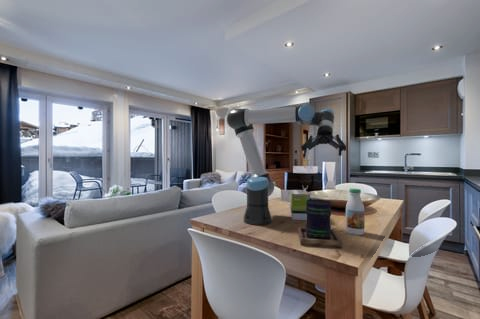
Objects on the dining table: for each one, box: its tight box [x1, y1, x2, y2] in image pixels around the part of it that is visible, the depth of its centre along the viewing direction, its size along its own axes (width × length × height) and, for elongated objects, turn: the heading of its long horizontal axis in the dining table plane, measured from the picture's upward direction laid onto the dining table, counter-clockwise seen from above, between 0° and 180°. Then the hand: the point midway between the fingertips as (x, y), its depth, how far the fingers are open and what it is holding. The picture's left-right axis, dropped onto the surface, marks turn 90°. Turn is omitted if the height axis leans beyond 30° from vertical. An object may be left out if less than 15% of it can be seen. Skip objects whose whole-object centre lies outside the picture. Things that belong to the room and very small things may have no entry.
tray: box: [297, 226, 343, 249], centre depth 94 cm, size 15×15×2 cm
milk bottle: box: [345, 188, 366, 236], centre depth 103 cm, size 8×8×20 cm
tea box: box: [289, 189, 311, 221], centre depth 131 cm, size 15×10×15 cm
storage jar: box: [305, 199, 332, 240], centre depth 94 cm, size 10×10×15 cm
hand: (321, 159), depth 103 cm, fingers open, 13 cm apart
